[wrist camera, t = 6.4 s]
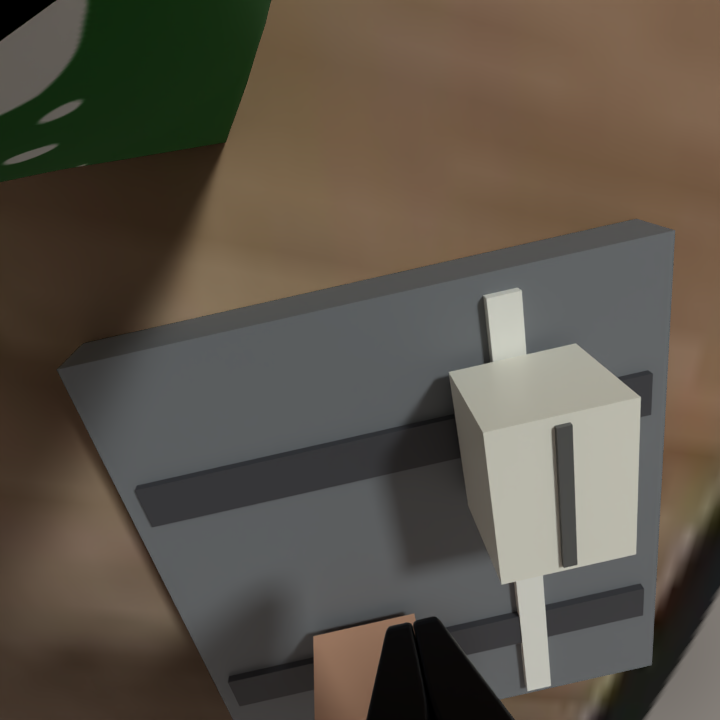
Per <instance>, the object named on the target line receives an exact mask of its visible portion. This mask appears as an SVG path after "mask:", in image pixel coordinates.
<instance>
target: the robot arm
mask: <svg viewBox="0 0 720 720" xmlns="http://www.w3.org/2000/svg"><path fill="white" fill-rule="evenodd" d="M413 629H414V630H413ZM414 633H415V634H414ZM366 720H514V718H513V717H512V716H511V714H510V713H509V712H508V710H507V709H506V708H505V706H504V705H503V704H502V702H501V701H500V700H499V698H498V697H497V696H496V694H495V693H494V692H493V690H492V689H491V688H490V686H489V685H488V684H487V682H486V681H485V680H484V678H483V677H482V676H481V674H480V673H479V671H478V670H477V669H476V667H475V666H474V665H473V663H472V662H471V661H470V659H469V658H468V657H467V655H466V654H465V653H464V651H463V650H462V649H461V647H460V646H459V645H458V643H457V642H456V641H455V639H454V638H453V637H452V635H451V634H450V633H449V631H448V630H447V629H446V627H445V626H444V625H443V623H442V622H441V621H440V620H439V619H438V618H437V617H435V616H432V617H428V618H423V619H419V620H416V621H415V622H414V623H413V626H412V624H411V623H409V622H406V623H402V624H397V625H393V626H389V627H388V628H387V630H386V633H385V637H384V641H383V646H382V651H381V655H380V660H379V664H378V669H377V673H376V678H375V682H374V687H373V691H372V696H371V700H370V705H369V709H368V714H367V718H366Z"/></svg>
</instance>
